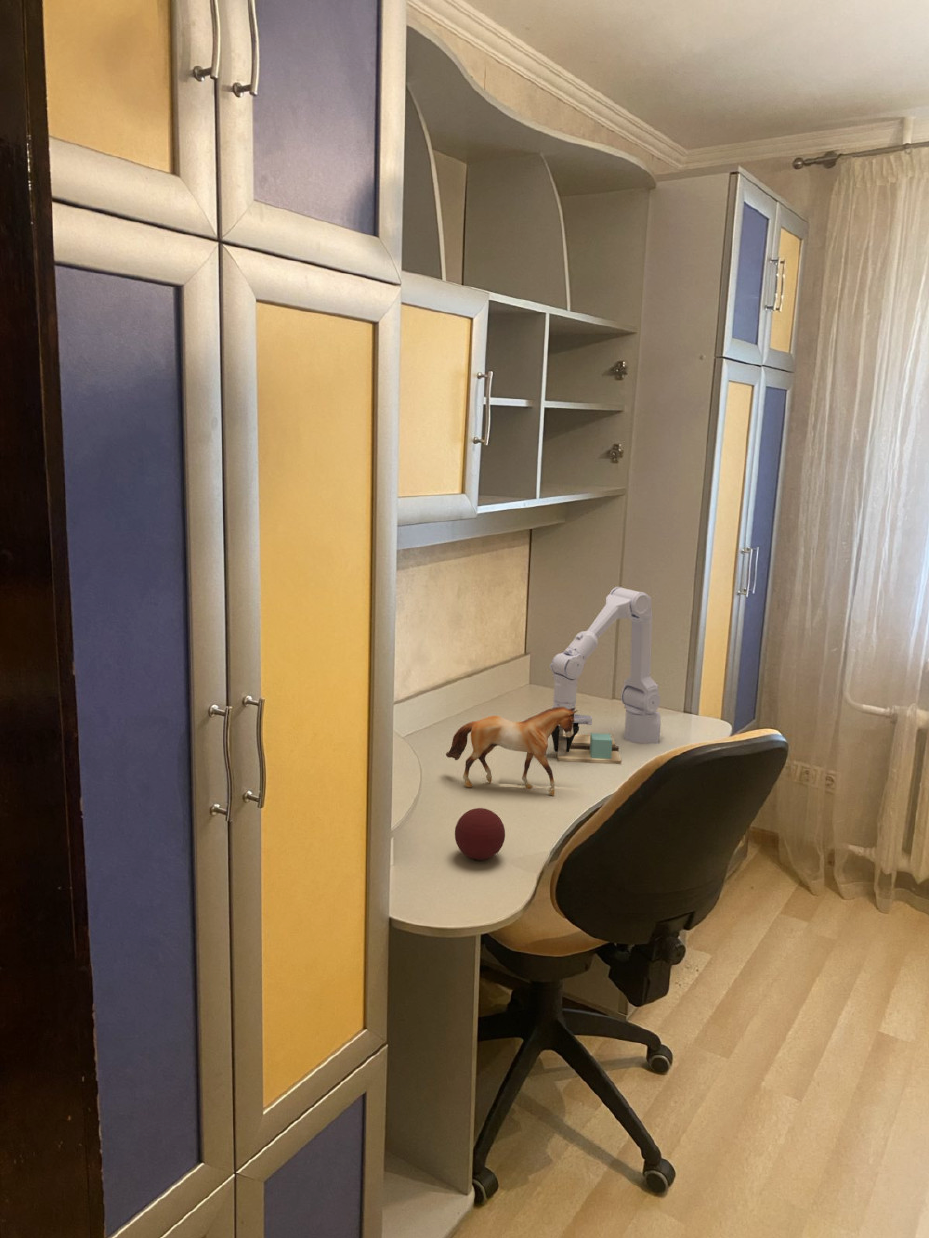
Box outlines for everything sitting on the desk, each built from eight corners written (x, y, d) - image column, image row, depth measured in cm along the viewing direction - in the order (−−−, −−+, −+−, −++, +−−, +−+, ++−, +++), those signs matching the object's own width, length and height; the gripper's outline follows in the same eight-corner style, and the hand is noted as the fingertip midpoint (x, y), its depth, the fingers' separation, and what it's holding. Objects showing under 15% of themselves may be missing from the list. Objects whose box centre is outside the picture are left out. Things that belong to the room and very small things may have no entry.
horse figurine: (573, 788, 219) (578, 706, 215) (570, 801, 212) (575, 716, 207) (446, 774, 225) (448, 693, 221) (438, 786, 218) (441, 703, 213)
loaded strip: (617, 754, 240) (619, 736, 239) (621, 763, 234) (622, 745, 233) (556, 751, 241) (557, 733, 240) (558, 760, 234) (559, 743, 233)
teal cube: (608, 752, 239) (610, 733, 238) (611, 759, 234) (612, 740, 233) (589, 751, 239) (590, 732, 238) (591, 758, 235) (592, 739, 234)
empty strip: (612, 738, 252) (613, 721, 251) (615, 747, 245) (616, 730, 244) (553, 735, 253) (554, 719, 252) (555, 744, 246) (556, 727, 245)
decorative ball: (497, 872, 177) (499, 824, 175) (447, 864, 180) (449, 816, 177) (509, 850, 186) (511, 804, 184) (461, 842, 189) (463, 797, 187)
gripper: (589, 695, 239) (585, 745, 242) (534, 695, 237) (531, 745, 240) (595, 704, 232) (591, 754, 235) (538, 703, 231) (535, 754, 233)
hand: (561, 750), depth 237 cm, fingers closed on loaded strip, 2 cm apart
